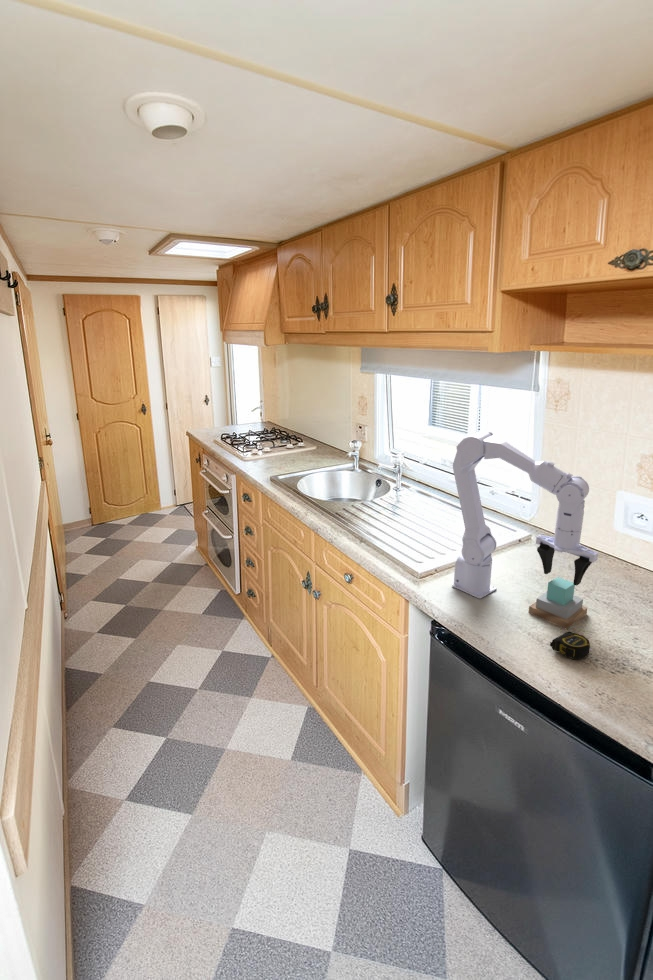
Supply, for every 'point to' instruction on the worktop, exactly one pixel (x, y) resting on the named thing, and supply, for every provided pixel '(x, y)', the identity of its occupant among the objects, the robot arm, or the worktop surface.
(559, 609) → the tower top block
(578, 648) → the tape measure
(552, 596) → the teal cube
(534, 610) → the tower base block
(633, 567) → the worktop surface
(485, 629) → the worktop surface
